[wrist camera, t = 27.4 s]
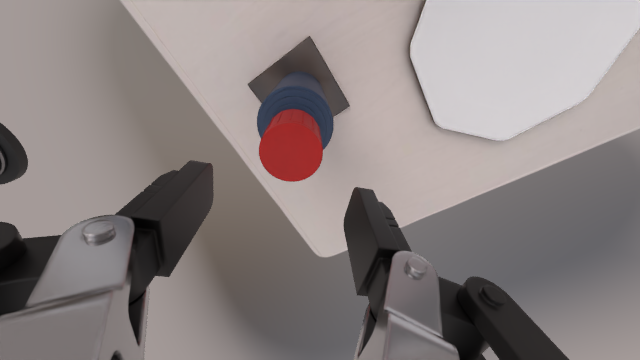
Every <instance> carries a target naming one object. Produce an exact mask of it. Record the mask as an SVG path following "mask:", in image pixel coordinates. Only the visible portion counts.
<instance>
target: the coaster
mask: <svg viewBox="0 0 640 360" xmlns="http://www.w3.org/2000/svg"><path fill="white" fill-rule="evenodd" d="M298 71H301V72H306V73H309V74H311V75H312V76H314V77H315V78H316V79H317V80H318V81H319V83H320V84H321V86H322V89H323V92H324V94H325V97H326V100H327V102H328V105H329V107H330V110H331V113H332V117H334V116H335V115H337V114H338V113H340V112H341V111H343V110H344V109H346V108H347V107H349V106H350V105H349V104H348V102H347V100H346V98H345V97H344V95H343V93H342V91H341V90H340V88H339V86H338V84H337V83H336V81H335V79H334V77H333V76H332V74H331V72H330V70H329V69H328V67H327V65H326V63H325V62H324V60H323V58H322V56H321V55H320V53H319V51H318V49H317V48H316V46H315V44H314V42H313V41H312V39H311V37H310V36H309V37H308V38H307V39H305V40H304V41H303V42H301V43H300V44H299V45H298V46H296V47H295V48H294V49H292V50H291V51H290V52H289V53H287V54H286V55H285V56H283V57H282V58H281V59H280V60H278V61H277V62H276V63H274V64H273V65H272V66H271V67H269V68H268V69H267V70H265V71H264V72H263V73H262V74H260V75H259V76H258V77H256V78H255V79H254V80H253V81H251V82H250V83H249V84H248V86H249V87H250V88H251V90H252V91H253V92H254V93H255V95H256V96H257V97H258V99H259V100H260V101H261V103H263V101H264V100H265V99H266V97H267V96H268V95H269V94H270V93H271V92H272V91H273V89H274V88H275V87H276V86H277V85H278V84H279V83H280V82H281V80H282V79H283V78H284V77H285V76H287V75H288V74H290V73H293V72H298Z"/></svg>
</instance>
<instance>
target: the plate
mask: <svg viewBox="0 0 640 360" xmlns="http://www.w3.org/2000/svg"><path fill="white" fill-rule="evenodd" d="M639 28H640V0H426V1H425V3H424V6H423V9H422V12H421V15H420V17H419V20H418V23H417V26H416V29H415V31H414V34H413V37H412V40H411V42H410V54H409V57H410V59H411V62H412V65H413V67H414V70H415V73H416V75H417V78H418V81H419V83H420V86H421V89H422V91H423V94H424V97H425V99H426V102H427V105H428V107H429V110H430V112H431V115H432V118H433V120H434V123H436V124H437V125H438V126H439V127H440V128H444V129H448V130H453V131H457V132H461V133H466V134H470V135H474V136H479V137H483V138H487V139H492V140H496V141H503V140H508V139H510V138H512V137H514V136H516V135H518V134H520V133H522V132H524V131H526V130H528V129H530V128H532V127H534V126H536V125H538V124H540V123H542V122H544V121H546V120H548V119H550V118H552V117H554V116H556V115H558V114H560V113H562V112H564V111H566V110H568V109H570V108H571V107H573V106H575V105H577V104H579V103H581V102H582V101H583V100H584V99H585V98H587V97H588V96H589V95H590V94H591V92H592V91H593V90H594V88H595V87H596V86H597V84H598V83H599V82H600V80H601V79H602V78H603V76H604V75H605V74H606V72H607V71H608V70H609V68H610V67H611V66H612V64H613V63H614V62H615V60H616V59H617V58H618V56H619V55H620V54H621V52H622V51H623V50H624V48H625V47H626V46H627V44H628V43H629V42H630V40H631V39H632V38H633V36H634V35H635V34H636V32H637V31H638V30H639Z"/></svg>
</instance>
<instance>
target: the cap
mask: <svg viewBox="0 0 640 360" xmlns="http://www.w3.org/2000/svg"><path fill="white" fill-rule="evenodd" d="M259 156H260V160H261V162H262V164H263V166H264V167H265V169H266V170H267V171H268V172H269V173H270V174H271V175H273V176H274V177H276V178H278V179H281V180H284V181H300V180H303V179H306V178H308V177H310V176H311V175H312V174H313V173H315V171H316V170H317V169H318V167H319V166H320V164H321V161H322V156H323V146H322V140H321V136H320V129H319V126H318V124H317V123H316V121H315V120H314V118H313V117H312V116H311V115H309V114H308V113H306V112H304V111H302V110H298V109H288V110H284V111H281V112H280V113H278V114H277V115H276V116H275V117H273V118H272V120H271V122H270V124H269V126H268V127H267V129H266V130H265V132H264V134H263V136H262V138H261V142H260V146H259Z"/></svg>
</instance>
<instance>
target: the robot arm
mask: <svg viewBox="0 0 640 360" xmlns="http://www.w3.org/2000/svg"><path fill="white" fill-rule="evenodd" d="M7 167H8V160H7V157H6V154H5V152H4V150H3V149H2V147H1V146H0V175H2V174H3V173H4V172H5V171H6V170H7ZM212 203H213V167H212V164H211V163H204V162H198V161H189V162H188V163H187V164H186V165H185V166H183V167H182V168H181V169H180V170H179V171H176V170H173V171H171V172H168V173H166V174H164V175H161V176H160V177H158V178H157V179H156V180H155V181H154V182H153V183H152V184H151V185H149V186H148V187H147V188H146V189H144V192H141V193H140V194H139V195H137V196H136V197H135V198H134V199H133V200H131V201H130V202H129V203H128V204H127V205H126V206H124V208H122V209H121V210H120V211H119V212H117V213H116V214H115V215H104V216H98V217H93V218H90V219H87V220H84V221H82V222H80V223H77V224H75V225H74V226H72V227H70V228H69V229H68V230H66V231H65V232H64V233H63V234H62V235H58V236H47V237H35V238H24V239H22V237H21V235H20V234H19V232H18V230H17V229H16V227H15V226H14V225H12V224H9V223H5V222H0V360H144V348H145V337H146V326H147V315H148V302H149V286H148V285H149V284H150V282H151V281H152V280H153V278H154V277H155V276H164V277H169V276H170V274H171V273H172V271H173V270H174V268H175V266H176V264H177V263H178V261H179V260H180V258H181V257H182V255H183V253H184V251H185V250H186V248H187V247H188V245H189V244H190V242H191V240H192V238H193V237H194V235H195V234H196V232H197V231H198V229H199V227H200V226H201V224H202V222H203V221H204V219H205V218H206V216H207V214H208V213H209V211H210V209H211V206H212ZM344 232H345V237H346V242H347V247H348V252H349V257H350V262H351V267H352V272H353V277H354V282H355V287H356V292H357V295H362V296H368V299H369V305H368V307H367V309H366V313H365V317H364V320H363V324H362V328H361V332H360V336H359V340H358V344H357V348H356V353H355V356H354V360H486V359H485V358H484V356H483V355H482V353H483V352H484V351H485V350H486V349H487V348H488V347H491V348H492V350H493V351H494V353H495V354H496V355H497V357H498V358H499V360H569V359H568V358H567V357H566V356H565V355H564V354H563V352H562V351H561V350H560V349H559V348H558V347H557V346H556V345H555V344H554V343H553V342H552V341H551V340H550V339H549V338H548V337H547V336H546V334H545V333H544V332H543V331H542V330H541V329H540V328H539V327H538V326H537V325H536V324H535V323H534V322H533V321H532V320H531V318H529V316H528V315H527V314H526V313H525V312H524V311H523V310H522V309H521V308H520V307H519V306H518V305H517V303H516V302H515V301H514V300H513V299H512V298H511V297H510V296H509V295H508V294H507V293H506V292H505V291H504V290H502V289H501V288H500V287H498V286H497V285H495V284H494V283H492V282H490V281H488V280H486V279H484V278H480V277H470V278H468V279H467V280H466V282H465V283H464V284H463V285H459V284H457V283H454V282H451V281H449V280H446V279H443V278H441V277H438V275H437V272H436V270H435V269H434V267H433V266H432V265H431V264H430V263H429V262H428V261H427V260H425V259H424V258H423V257H421V256H420V255H418V254H416V253H413V252H412V251H411V249H410V247H409V245H408V243H407V241H406V239H405V237H404V235H403V234H402V232H401V230H400V228H398V224H397V222H396V221H395V218H394V216H393V214H392V212H391V210H390V209H389V208H388V207H387V206H386V205H385V204H383V203H382V202H378V200H377V198H376V196H375V193H374V191H373V190H371V189H364V188H358V187H355V188H354V190H353V192H352V196H351V199H350V202H349V205H348V208H347V211H346V214H345V218H344Z"/></svg>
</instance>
